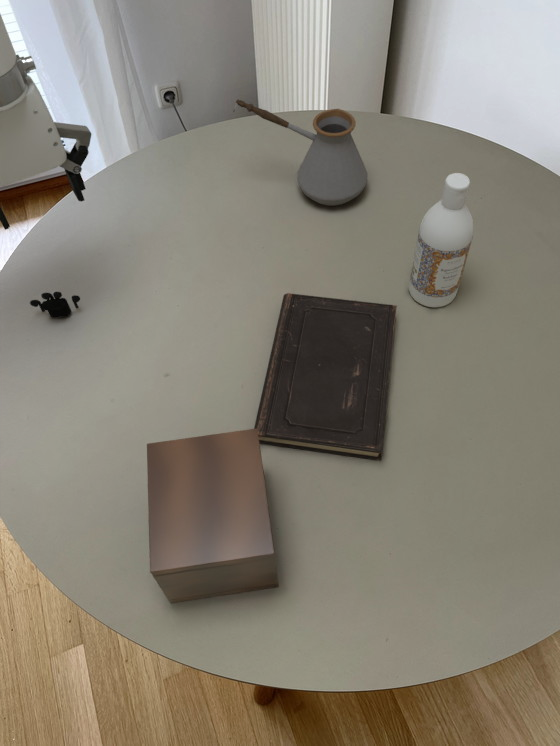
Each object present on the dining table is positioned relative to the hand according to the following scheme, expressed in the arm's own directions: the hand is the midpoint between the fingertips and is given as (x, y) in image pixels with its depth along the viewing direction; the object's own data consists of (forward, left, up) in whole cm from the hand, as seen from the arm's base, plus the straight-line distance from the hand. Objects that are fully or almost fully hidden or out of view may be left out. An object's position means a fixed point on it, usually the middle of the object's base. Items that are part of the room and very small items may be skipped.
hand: (42, 208), depth 82 cm
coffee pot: (+36, +19, -18) cm, 44 cm away
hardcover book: (+34, -19, -18) cm, 42 cm away
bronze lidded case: (+17, -39, -18) cm, 46 cm away
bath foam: (+51, -7, -18) cm, 55 cm away
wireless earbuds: (-3, -3, -18) cm, 18 cm away
